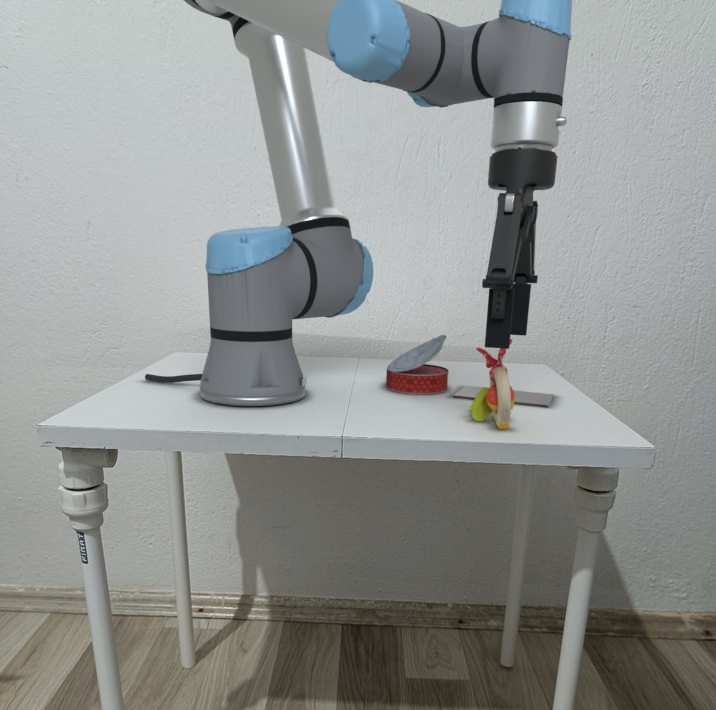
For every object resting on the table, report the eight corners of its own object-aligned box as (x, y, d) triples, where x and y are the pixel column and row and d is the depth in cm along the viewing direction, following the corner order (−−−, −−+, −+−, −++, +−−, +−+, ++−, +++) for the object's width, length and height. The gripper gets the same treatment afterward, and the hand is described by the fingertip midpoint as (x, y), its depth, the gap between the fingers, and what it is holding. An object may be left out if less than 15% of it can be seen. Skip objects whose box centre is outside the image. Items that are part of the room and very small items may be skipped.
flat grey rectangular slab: (453, 397, 100) (453, 395, 100) (464, 387, 107) (465, 385, 107) (547, 407, 96) (548, 405, 95) (553, 396, 103) (554, 394, 102)
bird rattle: (524, 444, 85) (508, 401, 91) (545, 371, 77) (526, 331, 84) (476, 445, 84) (463, 401, 91) (492, 371, 77) (477, 330, 83)
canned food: (433, 423, 103) (430, 372, 96) (376, 407, 108) (370, 357, 100) (462, 379, 110) (461, 329, 102) (408, 366, 114) (403, 317, 107)
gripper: (544, 132, 63) (522, 356, 70) (567, 163, 85) (549, 331, 92) (466, 135, 65) (453, 351, 72) (508, 164, 87) (495, 328, 94)
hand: (506, 341), depth 82 cm, fingers open, 13 cm apart
